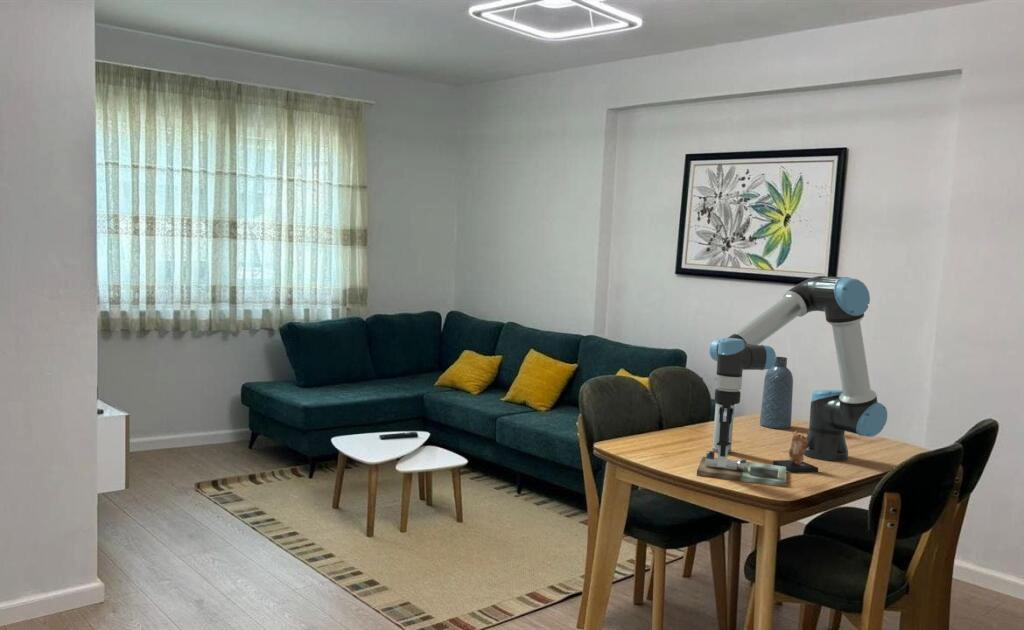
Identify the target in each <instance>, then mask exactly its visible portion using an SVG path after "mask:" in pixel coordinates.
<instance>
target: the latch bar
mask: <svg viewBox="0 0 1024 630" xmlns="http://www.w3.org/2000/svg"><path fill="white" fill-rule="evenodd" d="M715 454H716V452H714V451H713V450H707V451H706V456H705V457H706V465H705V466H709V467H717V468H725V469H732V470H739V471H748V466H749V462H750V461H747V459H743V458H740V459H739V460H735V459H728V458H727V467H720V466H717V462H718V457H715Z"/></svg>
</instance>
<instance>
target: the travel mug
mask: <svg viewBox="0 0 1024 630" xmlns="http://www.w3.org/2000/svg"><path fill="white" fill-rule="evenodd" d="M722 405H723V404H722V403H719V402H716V401H715V407H714V409H715V410H714V423H713V424H714V425H713V436H712V439H713V440H712V447H711V448H712V450H711V451H713V452H715V453H717V454H718V449H719V445H717V443H719V435H720V422H719V419H720V414H719V409H720V407H722ZM731 408H733V414H732V421H731V424H730V430H729V441H728V442H730V443H731V444H730V445H728V454H730V453H732V442H733V441H732V439H733V428H734V414H735V404H731Z"/></svg>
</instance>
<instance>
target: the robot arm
mask: <svg viewBox="0 0 1024 630" xmlns="http://www.w3.org/2000/svg"><path fill="white" fill-rule="evenodd" d="M870 295H871V294H870V292H869V289H868V287H867V285H866V284H865V283H864V282H862V281H861V280H860V279H857V278H852V277H849V276H848V277H846V276H844V277H841V276H827V275H826V276H825V275H818V276H814V277H810V278H808V279H806V280H804V281H801V282H799V283H798V284H796V285H795V286H793V287H791V288H790V289H789V290H786V292H785V293H784V294H783V296H782V298H781V299H780V300H778V301H777V302H776V303H774V304H773V305H771V306H769V308H767V309H766V310H764V311H763V312H762V313H760V314H759V315H758V316H756V317H755V318H754V319H752V320H750V321H749V322H748V323H747V324H746V325H744V326H743V327H741V328H739V329H738V330H737V331H735V332H734V333H733V334H731V335H729V336H728V337H723V338H717V339H715V340H712V342H711V344H710V346H709V349H708V350H709V351H708V352H709V355H710V358H711V359H712V360H713V361H714V362H717V363H716V376H714V378H713V380H714V381H715V388H716V389H715V390H714V398H713V399H714V401H715V403H716V402H719V403H722V404H723V405H722V407H720V409H719V414H720V419H719V422H720V435H719V443H717V445H719V449H718V453H717V458H718V462H717V466H720V467H727V459H728V454H729V453H728V445H730V444H731V443H730V442H728V441H729V430H730V424H731V421H732V414H733V408H731V404H734V405H738V404H740V402H741V391H740V390H741V389H742V382H743V373H744V372H743V371H745V370H746V371H749V370H750V371H755V370H756V371H757V370H758V371H763V370H764V371H765V370H768V369H770V368H772V367H773V366H774V364H775V362H776V357H777V354H776V352H775V349H774V348H773V347H771V346H769V345H764V344H762V343H763V342H764V341H766V340H767V339H768V338H770V337H771V336H772V335H774V334H776V333H777V331H779V330H781V329H782V328H784V327H785V326H786V325H787V324H789V323H791V322H792V321H793V320H794V319H796V318H797V317H801V318H802V317H803V316H806V314H808V313H811V312H823V313H824V314H825V321H826V322H827V323H828V324H829V325H831V328H832V333H833V339H834V345H835V352H836V357H837V358H836V359H837V363H838V371H839V377H840V381H841V383H840V384H841V388H842V389H841V390H836V389H822V390H821V389H820V390H818V389H817V390H814V391H813V392H812V394H811V401H810V411H809V412H810V413H809V428H808V433H807V436H805V437H806V439H807V441H808V446H807V447H805V449H806V448H808V447H809V448H808V449H809V450H806V452H804V453H803V456H807V457H810V458H812V459H818V460H822V461H823V460H825V461H833V462H834V461H837V462H838V461H839V462H840V461H841V462H842V461H846V460H848V459H849V449H848V446H847V441H846V437H845V434H846V433H847V432H848V433H851V434H854V435H858V436H860V437H863V436H864V437H867V438H873V437H876V436H877V435H878V434H880V433H881V432H882V431H883V429H884V427H885V425H886V424H887V420H888V409H887V407H886V406H885V405H884V404H882V403H880V402H878V395H877V393H876V392H875V391H874V390H872V389H871V383H870V378H869V371H868V365H867V358H866V351H865V344H864V338H863V332H862V325H861V321H862V320H863V319H864V318H865V313H866V311H867V310H868V308H869V305H870V301H871V298H870ZM845 432H846V433H845ZM731 445H732V444H731ZM805 449H804V450H805Z"/></svg>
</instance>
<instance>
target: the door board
mask: <svg viewBox="0 0 1024 630" xmlns="http://www.w3.org/2000/svg"><path fill="white" fill-rule="evenodd" d="M748 462H749V466H748V471H739V470H732V469H725V468H717V467H709V466H705V465H706V456H702V458H701V460H700V463H699V465H698V467H697V469H696V476H698V477H707V478H715V479H723V480H729V481H738V482H739V481H740V482H745V483H754V484H760V485H768V486H775V487H777V486H778V487H782V488H786V487H787V471H786V467H785V466H776V465H773V464H767V463H760V462H751V461H748Z"/></svg>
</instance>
